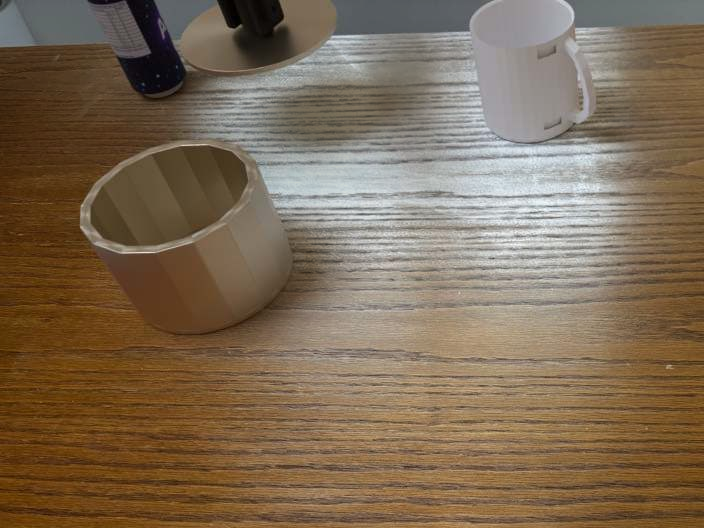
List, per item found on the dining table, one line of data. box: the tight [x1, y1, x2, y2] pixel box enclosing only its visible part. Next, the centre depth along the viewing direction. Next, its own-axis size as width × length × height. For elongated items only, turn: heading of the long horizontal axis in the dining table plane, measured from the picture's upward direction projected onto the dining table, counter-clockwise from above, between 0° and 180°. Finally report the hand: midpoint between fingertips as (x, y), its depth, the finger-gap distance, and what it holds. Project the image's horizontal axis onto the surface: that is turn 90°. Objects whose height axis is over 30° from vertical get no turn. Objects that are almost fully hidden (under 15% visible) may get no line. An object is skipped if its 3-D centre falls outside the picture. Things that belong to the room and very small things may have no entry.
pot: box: [79, 138, 294, 336], centre depth 66 cm, size 13×13×8 cm
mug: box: [468, 0, 597, 144], centre depth 75 cm, size 12×9×9 cm
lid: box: [179, 0, 339, 77], centre depth 74 cm, size 14×14×6 cm
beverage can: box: [86, 0, 187, 99], centre depth 84 cm, size 6×6×12 cm
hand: (256, 22), depth 75 cm, fingers closed on lid, 2 cm apart
